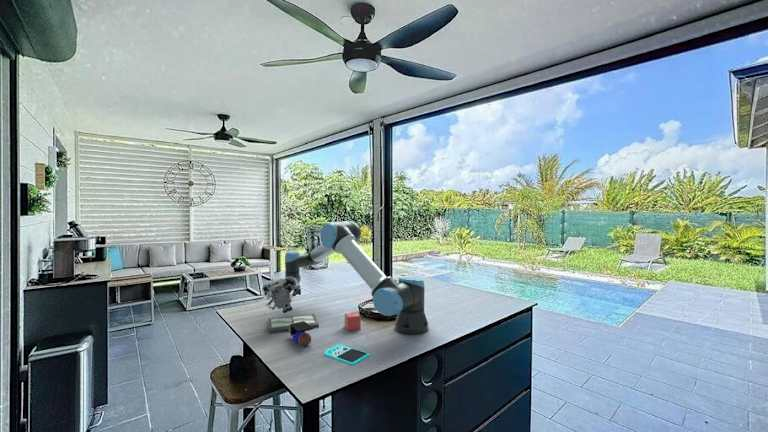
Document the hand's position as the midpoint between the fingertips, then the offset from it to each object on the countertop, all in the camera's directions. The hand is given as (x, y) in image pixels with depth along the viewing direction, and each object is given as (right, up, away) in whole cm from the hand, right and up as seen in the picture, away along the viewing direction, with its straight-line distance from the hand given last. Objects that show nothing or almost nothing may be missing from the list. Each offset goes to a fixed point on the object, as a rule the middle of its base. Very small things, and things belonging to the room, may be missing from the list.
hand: (278, 297), depth 157 cm
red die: (+33, -14, +2) cm, 36 cm away
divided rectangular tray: (+5, -14, +7) cm, 16 cm away
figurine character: (+13, -15, -13) cm, 24 cm away
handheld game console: (+33, -16, -26) cm, 45 cm away
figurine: (0, -8, +5) cm, 9 cm away
